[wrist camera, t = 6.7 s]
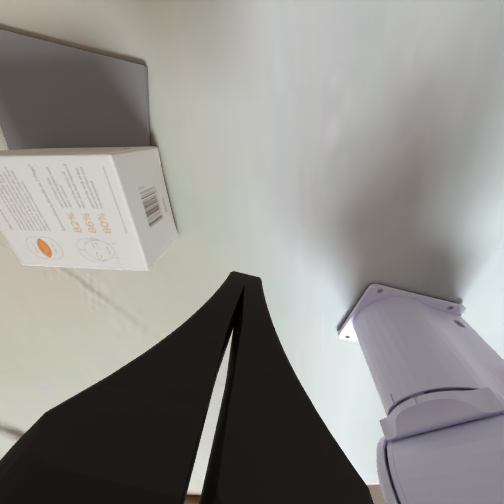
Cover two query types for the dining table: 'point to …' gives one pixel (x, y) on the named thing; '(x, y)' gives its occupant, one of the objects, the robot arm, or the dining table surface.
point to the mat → (69, 97)
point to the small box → (86, 207)
